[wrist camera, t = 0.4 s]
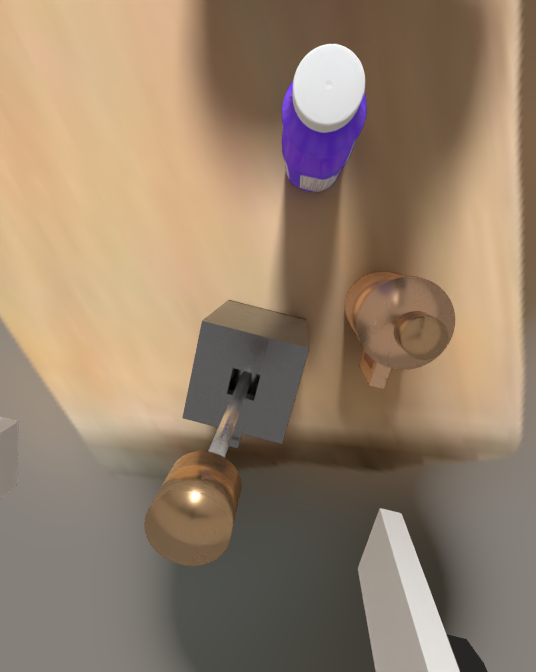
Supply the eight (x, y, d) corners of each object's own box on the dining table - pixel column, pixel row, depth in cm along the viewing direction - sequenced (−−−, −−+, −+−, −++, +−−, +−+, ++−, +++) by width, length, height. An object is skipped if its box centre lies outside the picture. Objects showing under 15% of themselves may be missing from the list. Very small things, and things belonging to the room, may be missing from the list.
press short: (355, 261, 39) (388, 269, 25) (427, 279, 39) (502, 298, 25) (328, 352, 42) (344, 406, 28) (395, 369, 42) (446, 433, 27)
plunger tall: (219, 329, 32) (118, 437, 14) (293, 348, 32) (288, 481, 14) (204, 397, 34) (97, 573, 16) (274, 415, 34) (248, 613, 16)
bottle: (332, 200, 38) (361, 163, 21) (279, 188, 38) (265, 141, 21) (351, 124, 36) (400, 16, 19) (296, 112, 36) (295, -7, 19)
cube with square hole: (228, 299, 41) (202, 320, 29) (305, 319, 41) (309, 348, 29) (208, 395, 44) (176, 448, 32) (279, 413, 44) (273, 473, 32)
